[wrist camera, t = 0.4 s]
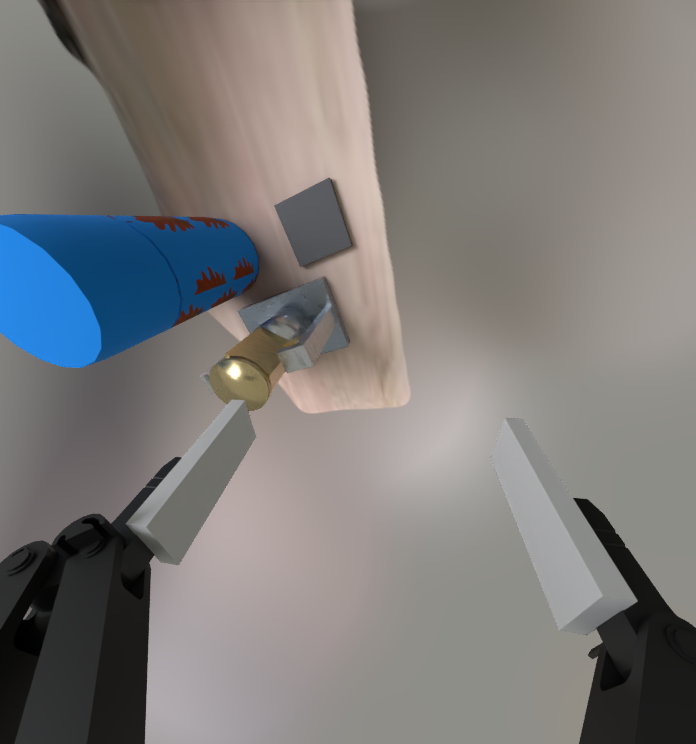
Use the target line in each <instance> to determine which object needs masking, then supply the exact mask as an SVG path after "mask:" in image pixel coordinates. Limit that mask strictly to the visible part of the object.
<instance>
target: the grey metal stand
mask: <svg viewBox="0 0 696 744" xmlns="http://www.w3.org/2000/svg"><path fill="white" fill-rule="evenodd" d="M238 313H239V315H240V317H241V318H242V320H243V322H244V324H245V325H246V327H247V329H248V331H249V332H250V334H251V333H252V332H254V331H255V330H256V329H257V328H259V327H262V328H264V329H267V330H269V331H271V332H273V333H275V334H277V335H279V336H281V337H284V338H286V339H288V340H290V339H293V338H297V337H300V336H301V338H300V339H299V340H298V341H297V343H296V344H294V345H291V346H288V347H285V348H281V349H280V350H279V351H278V352H277V355H278V357H279V359H280V360H281V362H282V364H283V366H284V368H285V370H286V371H287V373H290V372H294V371H297V370H301V369H305V368H309V367H312V366H314V364H315V362H316V360H317V358H318V357H319V355H320V354H323V353H326V352H330V351H333V350H337V349H340V348H344V347H347V346H349V343H350V340H349V337H348V335H347V332H346V330H345V327H344V325H343V322H342V319H341V317H340V314H339V312H338V309H337V307H336V304H335V302H334V299H333V296H332V294H331V291H330V289H329V286H328V284H327V281H326V279H325V277H322V278H319V279H317V280H314V281H312V282H309V283H306V284H304V285H301V286H299V287H296V288H293V289H291V290H288V291H286V292H283V293H280V294H278V295H275V296H273V297H270V298H267V299H265V300H262V301H260V302H257V303H254V304H252V305H249V306H247V307H244V308H242V309H240V310H239V311H238ZM223 358H225V356H224V357H223ZM223 358H222V359H223ZM222 359H221V360H222ZM219 361H220V360H219ZM219 361H218V362H219ZM218 362H217V363H218ZM217 363H216V364H217ZM214 365H215V364H214ZM214 365H213V366H214ZM213 366H212V367H211V368H209V369H208V370H207V371H206V372H204V373H203V374H202V375H201V376H199V377H200V379H201V380H202V381H203V383H204V384H205V385H206V387H207V388H208V390H209V391H210V392H211V394H212V393H215V392H214V391H213V389H212V387H211V384H210V371H211V369H212V368H213ZM286 371H285V372H286Z"/></svg>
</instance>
